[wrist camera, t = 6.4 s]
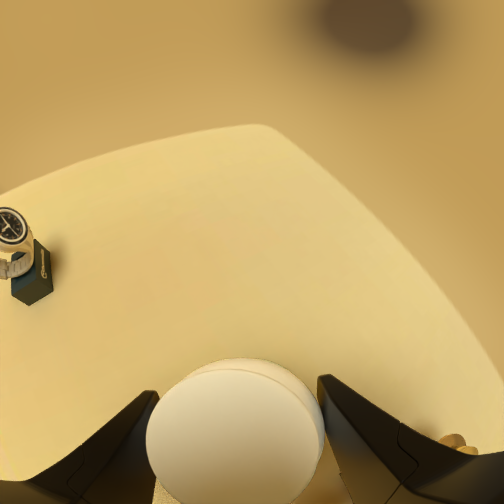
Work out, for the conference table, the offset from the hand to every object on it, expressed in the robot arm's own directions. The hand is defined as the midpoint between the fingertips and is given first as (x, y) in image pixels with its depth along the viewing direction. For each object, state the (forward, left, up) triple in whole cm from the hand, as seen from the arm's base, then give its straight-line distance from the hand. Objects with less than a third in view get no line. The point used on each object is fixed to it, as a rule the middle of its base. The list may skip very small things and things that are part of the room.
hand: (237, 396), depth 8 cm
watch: (+19, +18, -13) cm, 29 cm away
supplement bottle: (-1, 0, -7) cm, 7 cm away
